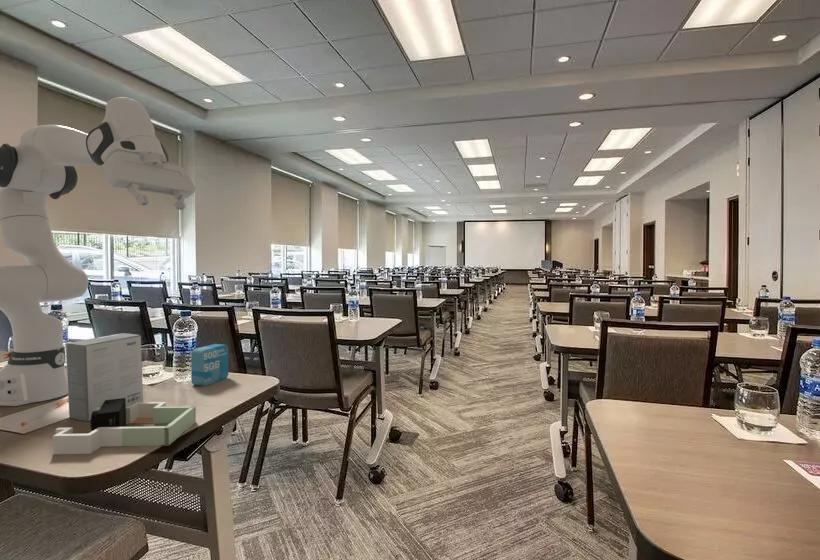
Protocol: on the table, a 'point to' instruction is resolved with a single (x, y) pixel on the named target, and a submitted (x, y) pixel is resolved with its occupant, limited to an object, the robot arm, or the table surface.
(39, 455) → the table surface
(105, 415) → the digital camera
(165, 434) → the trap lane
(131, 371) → the hard drive box
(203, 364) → the data package
